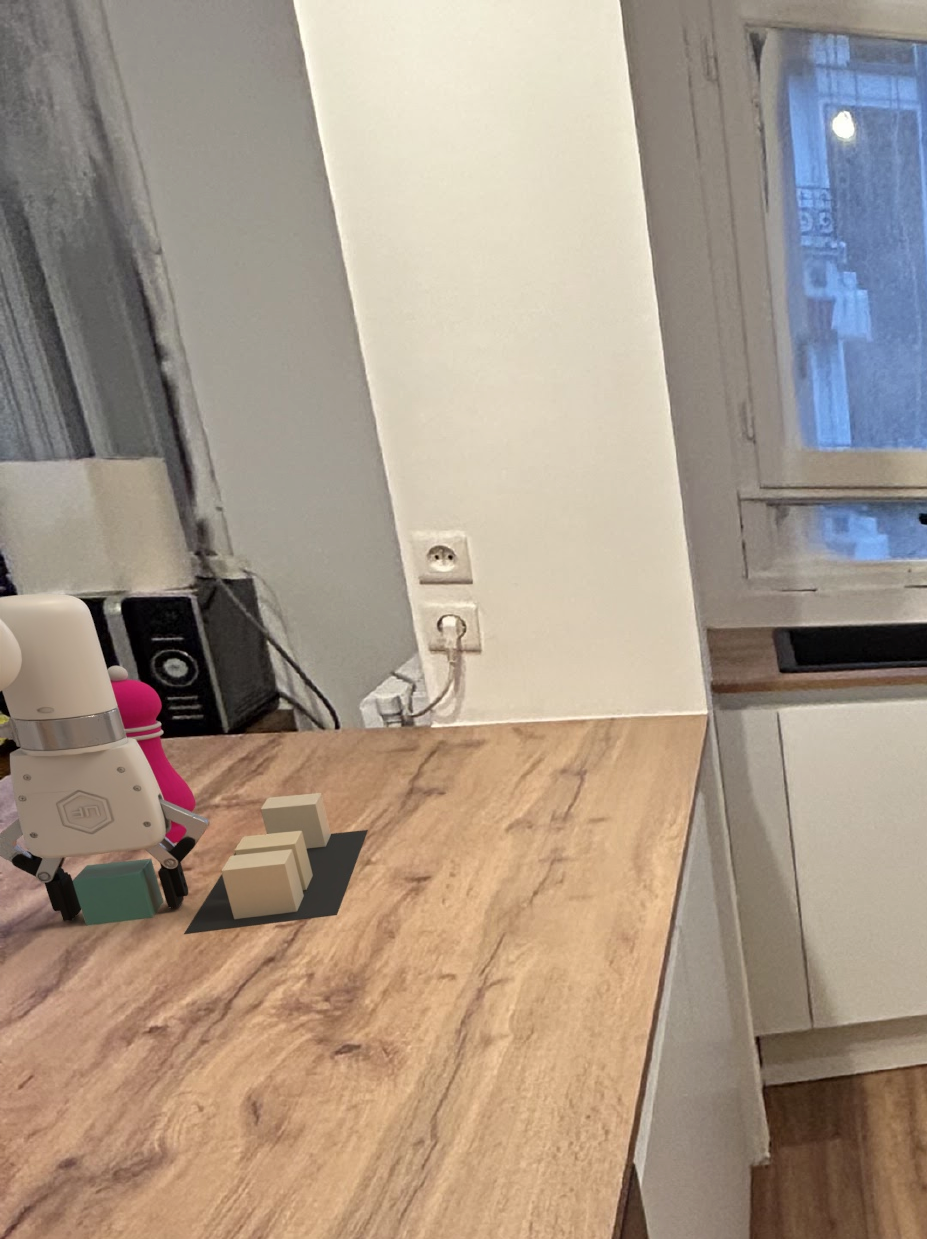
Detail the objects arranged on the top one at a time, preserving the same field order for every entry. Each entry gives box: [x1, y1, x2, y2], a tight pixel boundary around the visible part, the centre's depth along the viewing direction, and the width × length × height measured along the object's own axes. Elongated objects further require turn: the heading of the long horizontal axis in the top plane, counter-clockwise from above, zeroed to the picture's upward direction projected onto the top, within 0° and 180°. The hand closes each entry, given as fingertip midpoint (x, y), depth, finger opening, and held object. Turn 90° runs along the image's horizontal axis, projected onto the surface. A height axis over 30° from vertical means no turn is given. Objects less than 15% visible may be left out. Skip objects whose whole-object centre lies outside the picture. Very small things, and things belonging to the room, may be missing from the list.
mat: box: [183, 829, 369, 935], centre depth 142 cm, size 12×31×1 cm, turn 28°
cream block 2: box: [233, 831, 313, 890], centre depth 138 cm, size 5×5×5 cm
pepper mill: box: [107, 665, 197, 844], centre depth 150 cm, size 7×7×20 cm
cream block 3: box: [220, 849, 304, 919], centre depth 133 cm, size 5×5×5 cm
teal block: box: [72, 858, 165, 926], centre depth 131 cm, size 5×5×5 cm
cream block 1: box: [260, 792, 332, 849], centre depth 152 cm, size 5×5×5 cm
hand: (125, 909), depth 131 cm, fingers open, 7 cm apart
